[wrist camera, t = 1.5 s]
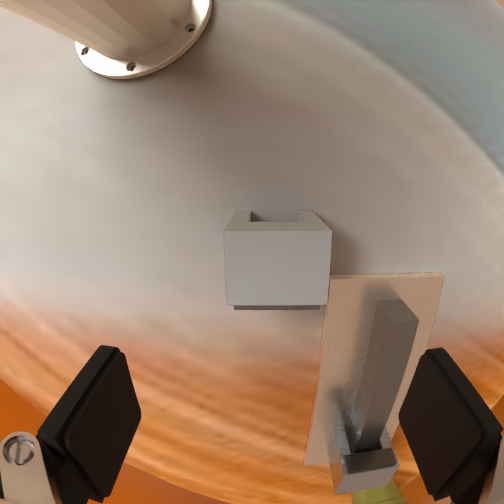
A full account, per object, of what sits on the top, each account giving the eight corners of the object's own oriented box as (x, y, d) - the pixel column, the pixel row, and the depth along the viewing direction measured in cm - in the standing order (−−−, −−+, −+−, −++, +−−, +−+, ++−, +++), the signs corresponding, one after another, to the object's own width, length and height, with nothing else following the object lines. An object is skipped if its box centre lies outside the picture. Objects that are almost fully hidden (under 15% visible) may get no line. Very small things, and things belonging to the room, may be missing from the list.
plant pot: (411, 463, 33) (426, 504, 25) (371, 492, 36) (381, 531, 27) (369, 458, 32) (382, 506, 24) (329, 488, 35) (335, 532, 26)
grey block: (235, 211, 24) (223, 231, 17) (313, 211, 23) (332, 231, 17) (236, 271, 25) (227, 311, 18) (310, 271, 25) (326, 310, 18)
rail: (328, 274, 25) (353, 322, 17) (439, 272, 24) (487, 310, 17) (303, 459, 32) (307, 509, 24) (382, 450, 32) (396, 494, 24)
